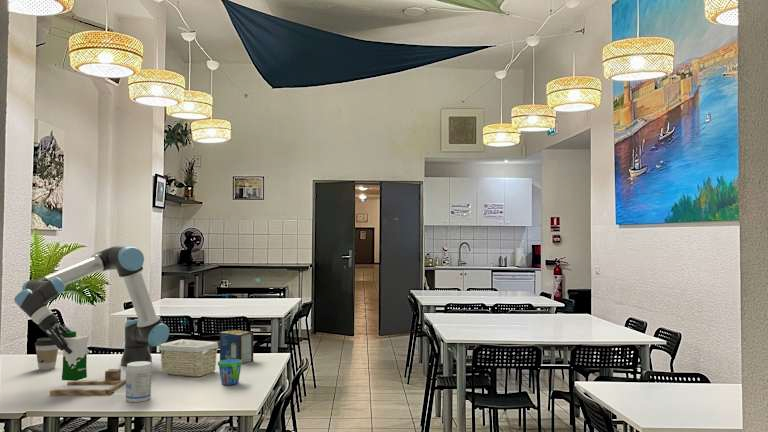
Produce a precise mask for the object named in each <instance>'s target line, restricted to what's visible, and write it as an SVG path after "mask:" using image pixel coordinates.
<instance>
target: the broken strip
mask: <svg viewBox="0 0 768 432" xmlns="http://www.w3.org/2000/svg"><path fill="white" fill-rule="evenodd" d="M77 381H99V380H98V379H93V380H92V379H91V380H90V379H88V380H86V379H85V380H83V379H80V380H77ZM103 381H105V379H104V380H103ZM120 381H125V379H121V380H120Z"/></svg>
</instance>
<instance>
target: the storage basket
mask: <svg viewBox="0 0 768 432" xmlns="http://www.w3.org/2000/svg"><path fill="white" fill-rule="evenodd" d="M218 349H219V343H218V342H217V341H207V340H194V339H182V338H181V339H177V340H173V341H168V342H165V343H164V344H161V345H160V346H159V351H160V361H161V372H162V373H165V374H167V375H173V376H181V377H182V376H183V377H200V376H201V377H202V376H205V375H207V374H208V375H209V374H212V373H214V372H215V371H216V365H217V356H218V354H217V353H218Z"/></svg>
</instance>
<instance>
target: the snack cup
mask: <svg viewBox="0 0 768 432" xmlns="http://www.w3.org/2000/svg"><path fill="white" fill-rule="evenodd" d="M242 364H243V363H242V360H239V359H227V360H221V361H220V360H219V361H218V362H217V365H218V369H219V376H220V382H221V385H223V384H224V386H232V385H231V384H234V385H237V384H239V381H240V375H241V369H242Z"/></svg>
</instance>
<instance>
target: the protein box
mask: <svg viewBox="0 0 768 432" xmlns="http://www.w3.org/2000/svg"><path fill="white" fill-rule="evenodd" d="M227 359H239V360H242V364H246V363H251V362H254V331H245V330H237V329H232V330H226V331H219V361H221V360H227ZM250 361H251V362H250ZM245 362H246V363H245Z"/></svg>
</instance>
